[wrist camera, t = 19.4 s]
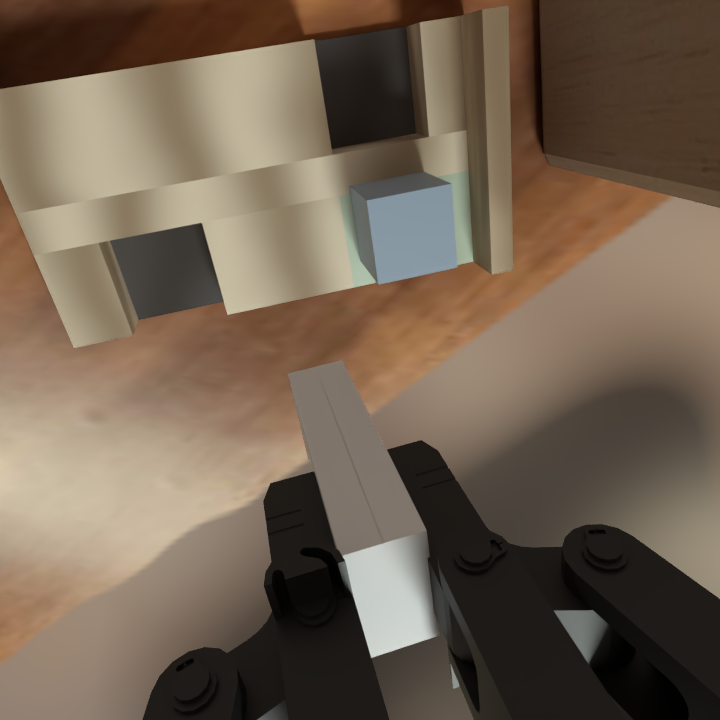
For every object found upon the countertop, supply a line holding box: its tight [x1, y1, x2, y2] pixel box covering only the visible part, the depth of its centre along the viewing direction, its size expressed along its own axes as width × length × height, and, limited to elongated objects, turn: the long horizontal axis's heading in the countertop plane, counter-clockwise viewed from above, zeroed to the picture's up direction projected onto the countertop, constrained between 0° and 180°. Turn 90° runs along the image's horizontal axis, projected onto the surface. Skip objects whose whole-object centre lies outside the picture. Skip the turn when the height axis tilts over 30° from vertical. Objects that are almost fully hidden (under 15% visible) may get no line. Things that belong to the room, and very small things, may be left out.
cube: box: [349, 172, 457, 285], centre depth 28 cm, size 4×4×4 cm
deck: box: [0, 6, 513, 348], centre depth 28 cm, size 23×12×5 cm, turn 98°
